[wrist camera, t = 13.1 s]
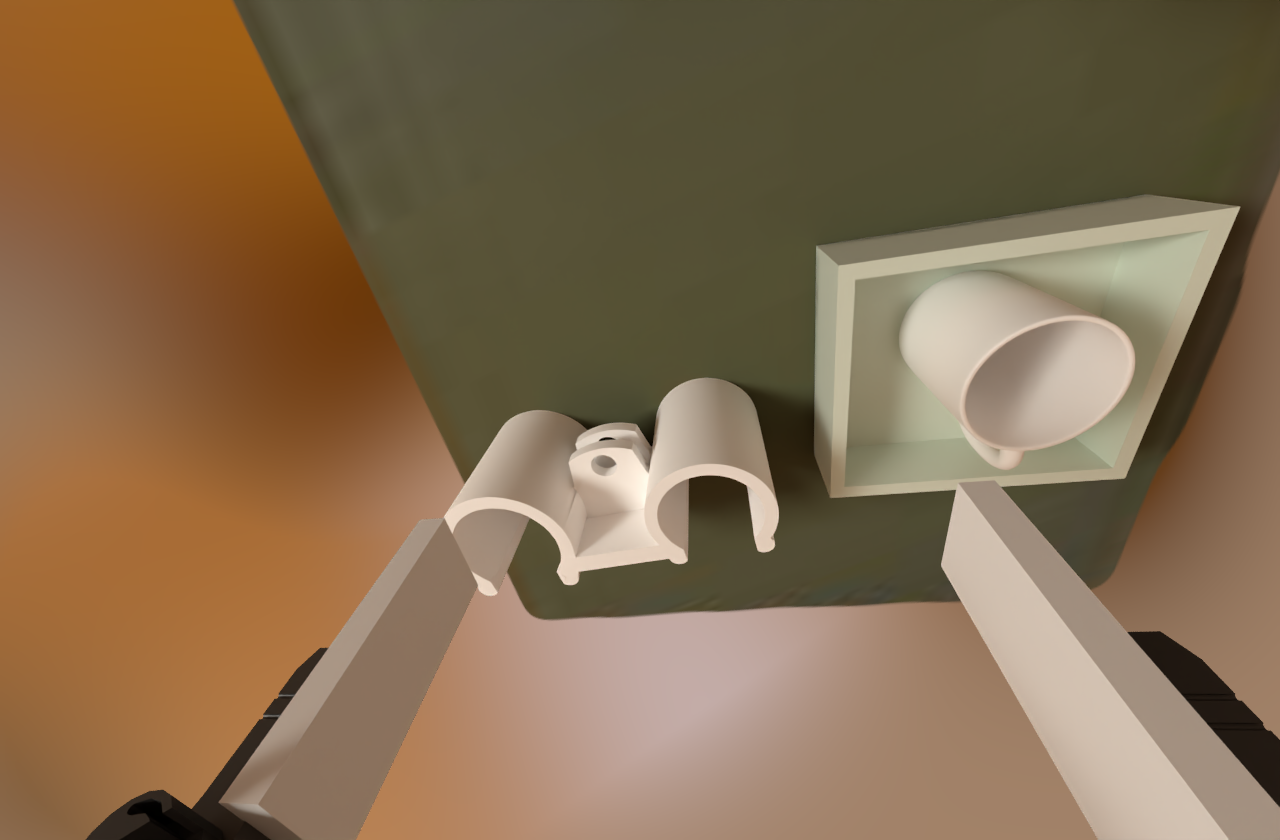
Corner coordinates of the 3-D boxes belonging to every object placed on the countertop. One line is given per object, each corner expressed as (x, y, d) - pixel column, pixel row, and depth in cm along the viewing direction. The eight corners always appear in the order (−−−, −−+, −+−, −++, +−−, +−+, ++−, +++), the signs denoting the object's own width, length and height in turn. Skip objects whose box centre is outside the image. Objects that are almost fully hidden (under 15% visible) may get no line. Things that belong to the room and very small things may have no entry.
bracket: (745, 359, 38) (764, 442, 28) (765, 455, 43) (788, 556, 33) (477, 422, 44) (411, 510, 34) (521, 500, 49) (474, 599, 38)
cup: (1029, 254, 32) (1156, 299, 23) (1007, 407, 37) (1101, 490, 29) (895, 282, 33) (966, 334, 25) (894, 424, 39) (951, 507, 30)
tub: (816, 245, 33) (838, 265, 28) (1146, 194, 30) (1240, 206, 25) (813, 454, 42) (830, 498, 37) (1067, 433, 39) (1125, 478, 34)
